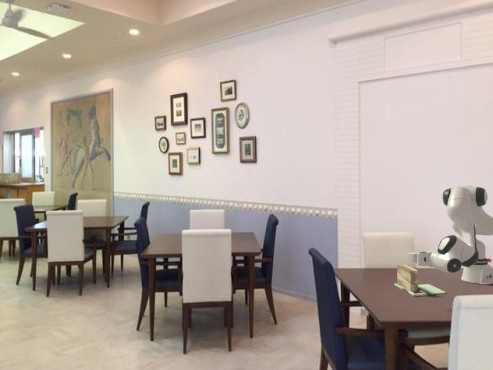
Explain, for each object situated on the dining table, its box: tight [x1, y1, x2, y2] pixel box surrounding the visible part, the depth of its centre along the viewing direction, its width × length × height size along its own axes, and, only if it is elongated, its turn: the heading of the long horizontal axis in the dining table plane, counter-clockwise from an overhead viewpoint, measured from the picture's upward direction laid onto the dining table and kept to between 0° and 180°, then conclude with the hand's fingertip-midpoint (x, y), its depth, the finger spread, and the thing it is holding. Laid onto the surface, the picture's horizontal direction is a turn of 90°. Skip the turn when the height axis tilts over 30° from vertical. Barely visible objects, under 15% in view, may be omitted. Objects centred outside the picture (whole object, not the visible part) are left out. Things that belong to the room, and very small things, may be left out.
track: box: [394, 282, 405, 291], centre depth 238 cm, size 8×9×1 cm
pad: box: [418, 283, 447, 295], centre depth 232 cm, size 9×16×1 cm, turn 9°
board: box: [396, 264, 419, 292], centre depth 235 cm, size 4×14×12 cm, turn 9°
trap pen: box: [407, 289, 428, 297], centre depth 225 cm, size 8×6×1 cm
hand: (418, 253), depth 223 cm, fingers closed
